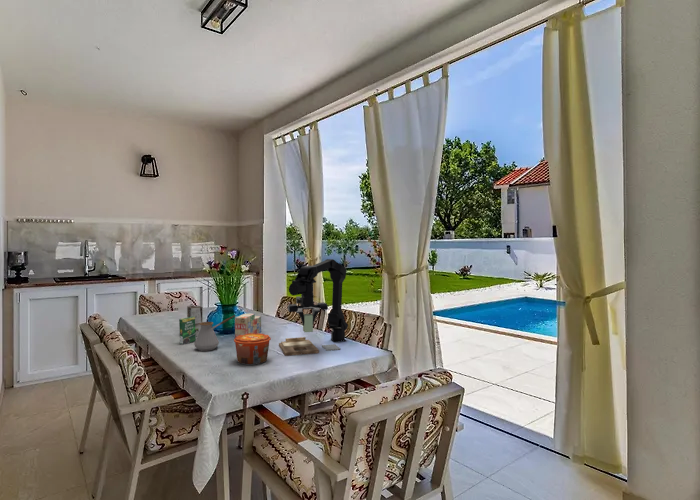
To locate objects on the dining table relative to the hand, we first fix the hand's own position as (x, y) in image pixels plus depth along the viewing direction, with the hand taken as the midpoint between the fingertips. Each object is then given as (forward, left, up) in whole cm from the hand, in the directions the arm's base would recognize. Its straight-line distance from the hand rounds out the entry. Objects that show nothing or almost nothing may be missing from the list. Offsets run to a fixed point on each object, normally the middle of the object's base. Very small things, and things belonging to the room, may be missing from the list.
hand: (307, 324), depth 207 cm
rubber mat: (-12, -1, -13) cm, 17 cm away
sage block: (0, 0, -3) cm, 3 cm away
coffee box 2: (+56, -34, -13) cm, 67 cm away
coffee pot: (+42, -20, -13) cm, 48 cm away
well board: (+4, -4, -13) cm, 14 cm away
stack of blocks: (+25, -41, -13) cm, 50 cm away
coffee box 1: (+53, -51, -13) cm, 75 cm away
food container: (+27, +9, -13) cm, 31 cm away
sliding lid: (+4, -8, -11) cm, 14 cm away
